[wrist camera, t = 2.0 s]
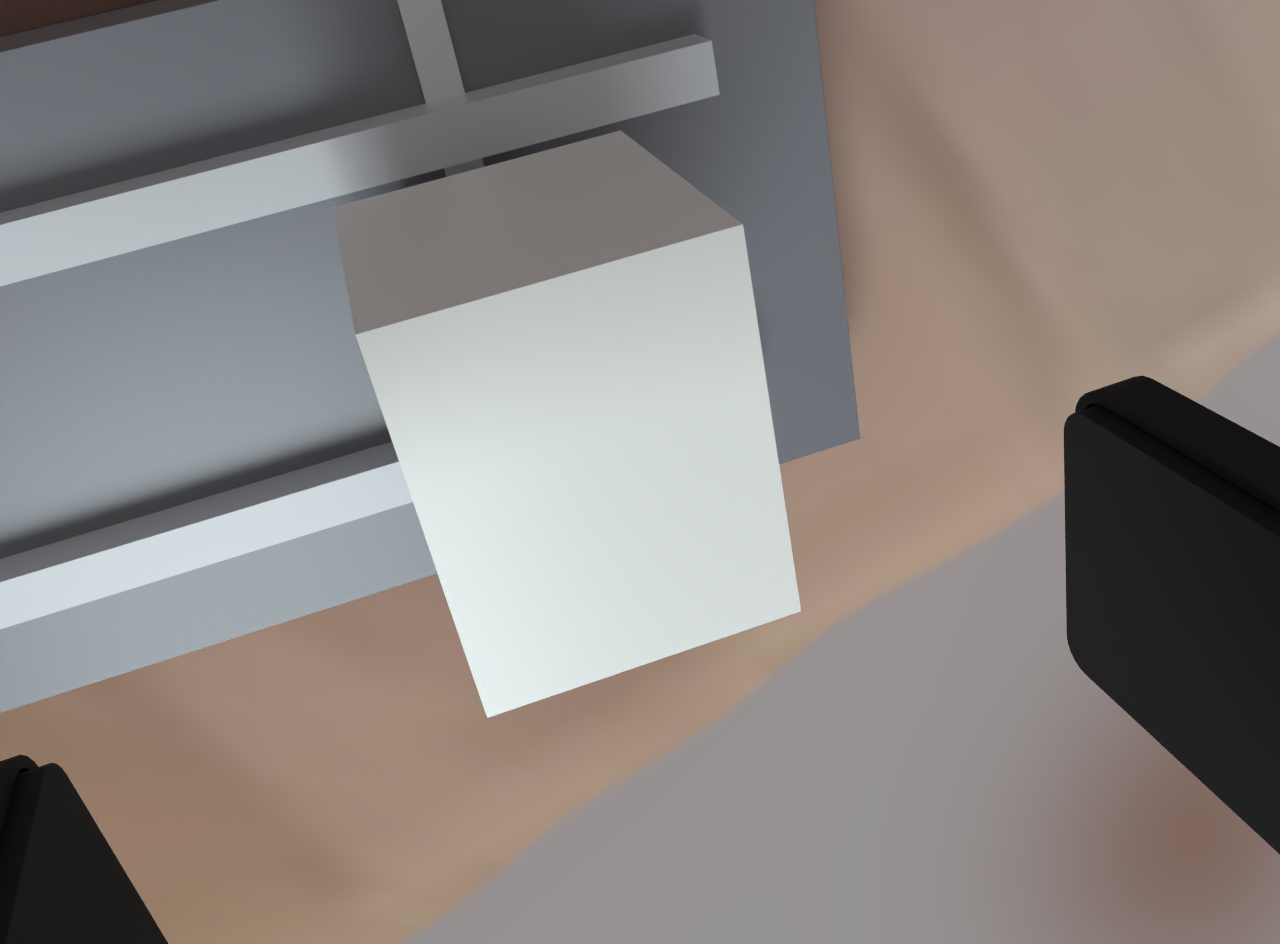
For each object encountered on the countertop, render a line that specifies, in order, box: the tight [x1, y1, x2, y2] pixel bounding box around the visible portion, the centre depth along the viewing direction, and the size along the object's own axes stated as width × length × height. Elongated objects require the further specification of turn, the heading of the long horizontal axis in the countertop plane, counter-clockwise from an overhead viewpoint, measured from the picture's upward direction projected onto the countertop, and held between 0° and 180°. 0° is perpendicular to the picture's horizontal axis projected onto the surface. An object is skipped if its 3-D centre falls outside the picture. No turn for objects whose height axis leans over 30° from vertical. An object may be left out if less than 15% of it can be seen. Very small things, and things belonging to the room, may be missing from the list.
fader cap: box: [333, 130, 801, 718], centre depth 16 cm, size 4×5×7 cm
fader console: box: [0, 0, 860, 713], centre depth 18 cm, size 28×10×3 cm, turn 102°
